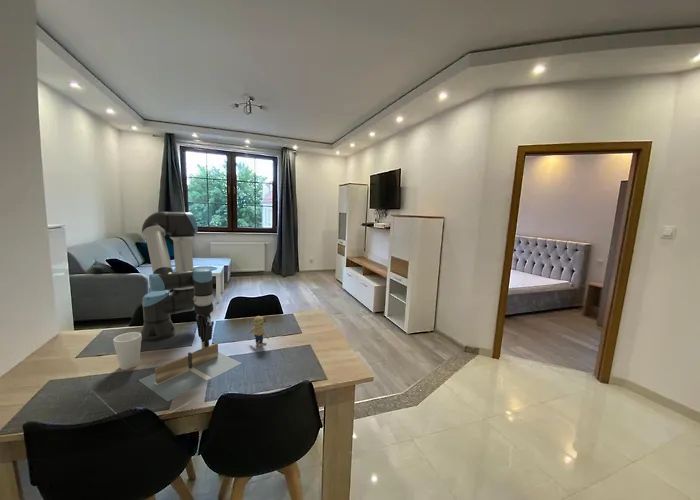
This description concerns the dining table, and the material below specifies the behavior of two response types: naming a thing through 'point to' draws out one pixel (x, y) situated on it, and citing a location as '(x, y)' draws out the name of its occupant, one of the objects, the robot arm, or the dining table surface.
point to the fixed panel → (171, 369)
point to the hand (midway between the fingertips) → (205, 353)
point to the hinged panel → (202, 355)
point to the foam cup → (128, 349)
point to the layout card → (190, 377)
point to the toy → (259, 330)
